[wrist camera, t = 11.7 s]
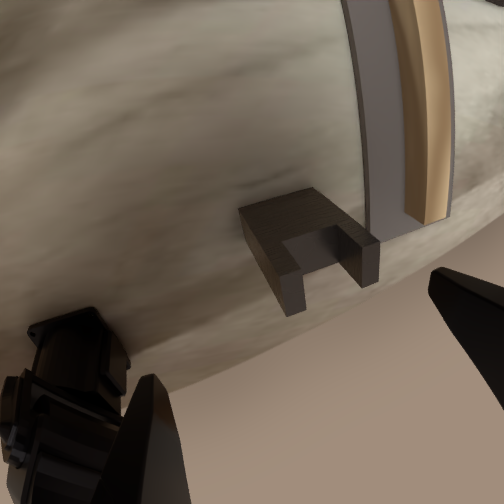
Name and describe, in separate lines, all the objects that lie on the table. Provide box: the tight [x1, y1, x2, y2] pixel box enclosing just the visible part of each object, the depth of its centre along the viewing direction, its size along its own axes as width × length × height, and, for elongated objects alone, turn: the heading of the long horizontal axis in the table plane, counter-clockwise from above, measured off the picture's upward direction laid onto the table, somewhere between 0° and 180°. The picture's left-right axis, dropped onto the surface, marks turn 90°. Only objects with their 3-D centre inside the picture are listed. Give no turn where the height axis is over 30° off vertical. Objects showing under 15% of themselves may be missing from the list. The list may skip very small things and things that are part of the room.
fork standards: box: [238, 187, 380, 317], centre depth 12 cm, size 5×21×8 cm, turn 12°
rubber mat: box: [341, 0, 455, 243], centre depth 17 cm, size 9×28×1 cm, turn 12°
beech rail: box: [388, 0, 451, 225], centre depth 15 cm, size 2×24×2 cm, turn 12°
